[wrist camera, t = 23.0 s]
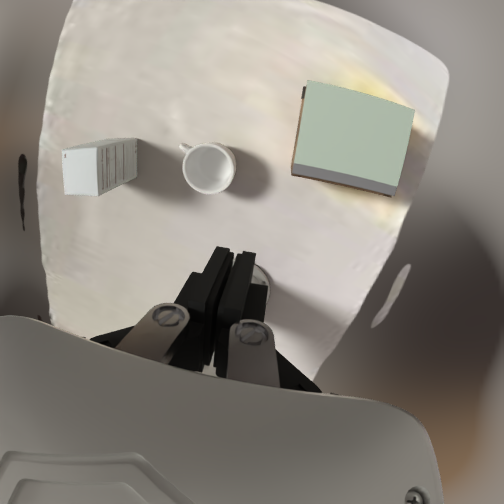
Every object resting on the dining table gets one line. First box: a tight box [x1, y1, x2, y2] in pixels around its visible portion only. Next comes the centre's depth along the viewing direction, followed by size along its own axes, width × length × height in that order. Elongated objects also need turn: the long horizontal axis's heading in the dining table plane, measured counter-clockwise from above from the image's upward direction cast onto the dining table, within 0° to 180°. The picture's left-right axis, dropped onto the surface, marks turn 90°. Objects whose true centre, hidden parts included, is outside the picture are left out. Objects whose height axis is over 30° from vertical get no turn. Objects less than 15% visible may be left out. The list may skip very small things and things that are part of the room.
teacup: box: [179, 142, 236, 194], centre depth 42 cm, size 10×8×5 cm
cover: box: [292, 80, 415, 196], centre depth 33 cm, size 12×14×1 cm
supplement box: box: [62, 138, 137, 196], centre depth 40 cm, size 7×7×13 cm
